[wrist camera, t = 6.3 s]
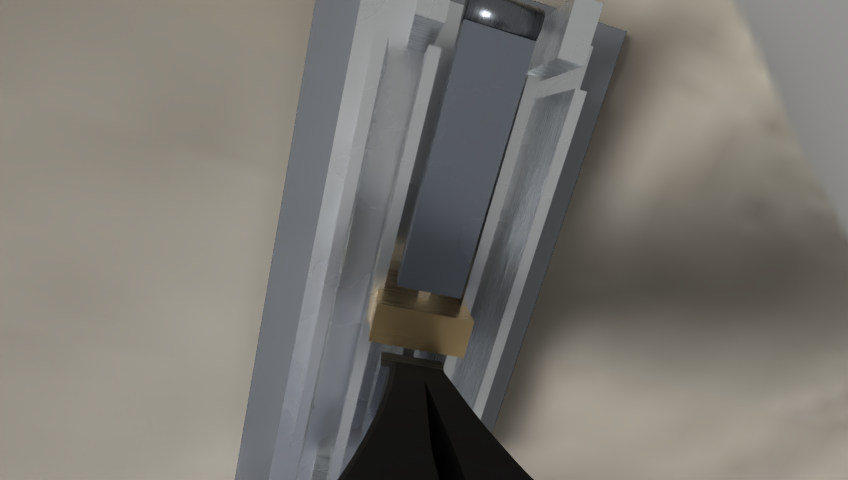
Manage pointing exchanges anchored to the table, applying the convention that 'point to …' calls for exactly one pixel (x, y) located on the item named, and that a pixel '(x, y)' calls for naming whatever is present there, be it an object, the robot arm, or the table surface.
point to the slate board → (304, 204)
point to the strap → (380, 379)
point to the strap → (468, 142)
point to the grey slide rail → (391, 215)
